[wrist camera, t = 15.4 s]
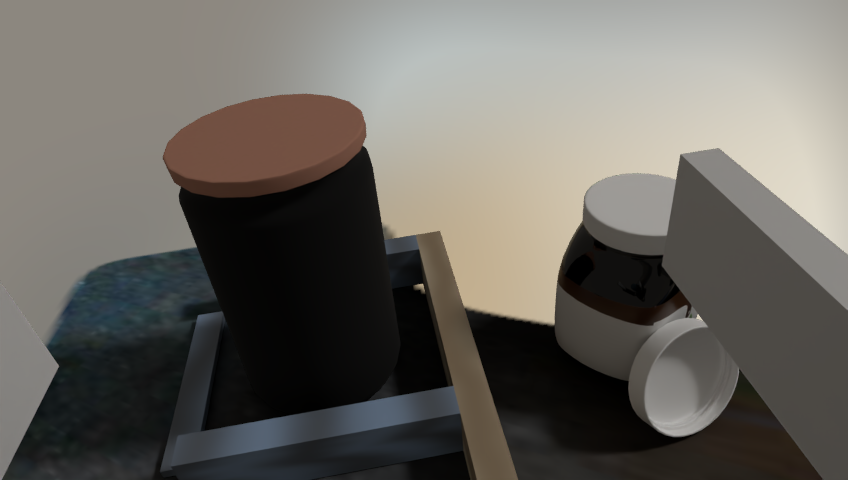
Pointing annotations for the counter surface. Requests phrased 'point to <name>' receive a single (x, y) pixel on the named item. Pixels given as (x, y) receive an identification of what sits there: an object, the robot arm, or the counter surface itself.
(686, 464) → the counter surface
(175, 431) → the divider rack
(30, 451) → the counter surface
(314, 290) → the coffee jar
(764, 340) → the robot arm
